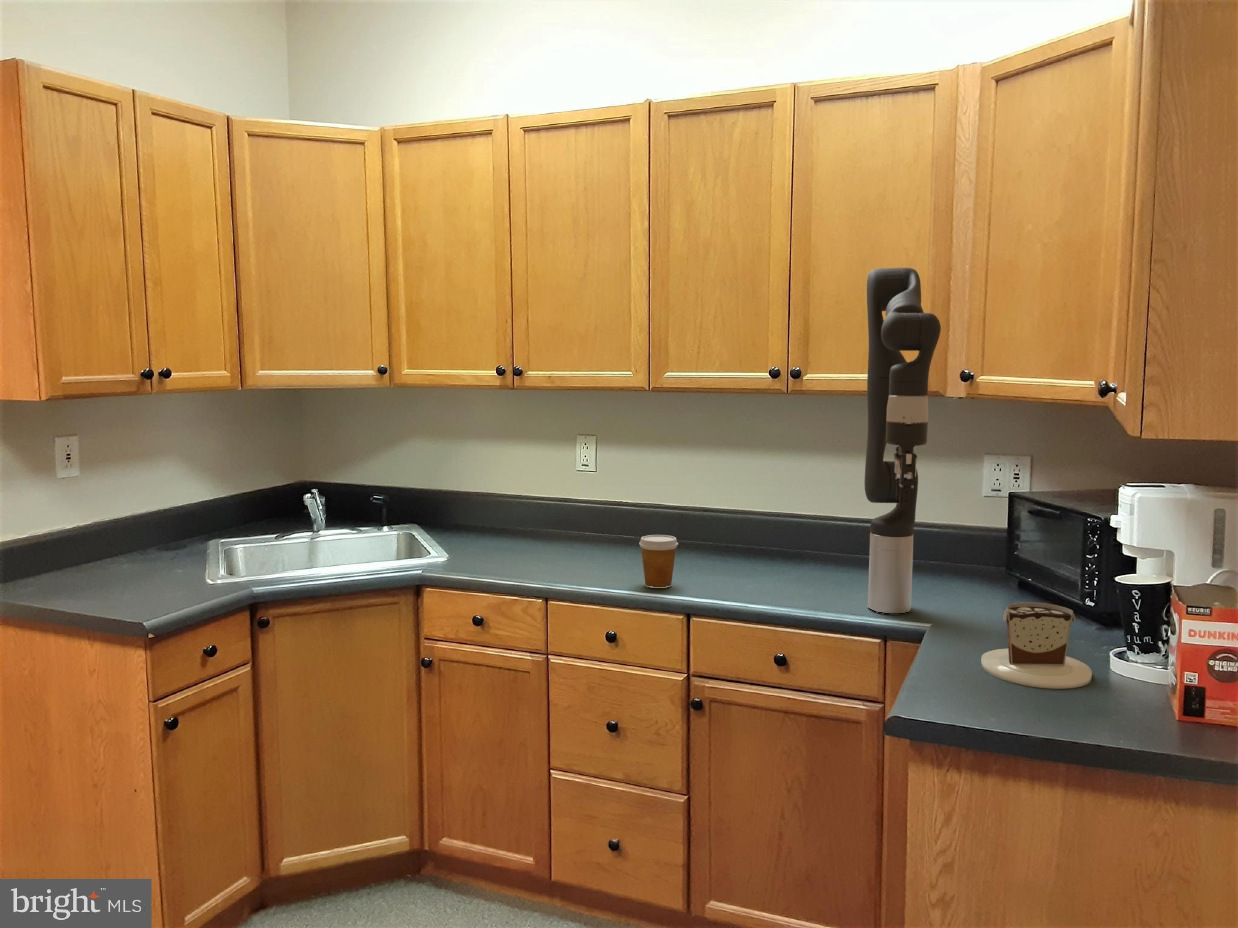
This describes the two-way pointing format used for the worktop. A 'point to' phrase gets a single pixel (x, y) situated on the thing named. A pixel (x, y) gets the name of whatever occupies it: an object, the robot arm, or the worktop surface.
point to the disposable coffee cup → (658, 559)
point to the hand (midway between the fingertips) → (903, 503)
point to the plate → (1036, 672)
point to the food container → (1037, 633)
